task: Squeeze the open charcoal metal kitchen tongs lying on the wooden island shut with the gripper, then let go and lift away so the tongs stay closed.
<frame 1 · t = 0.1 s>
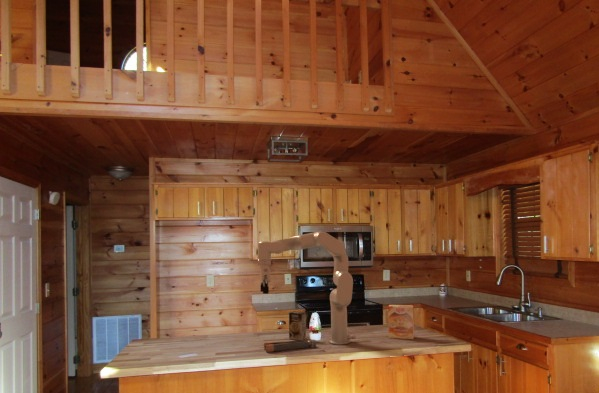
hand: (264, 292, 260), 31 cm above the worktop, tool pointing down, fingers open, 9 cm apart
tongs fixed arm: (309, 347, 257), on the worktop
coffee box: (297, 339, 278), on the worktop
coffeecake box: (401, 337, 279), on the worktop
tongs moving arm: (289, 346, 252), point 2 cm above the worktop, hinge at 9.0°
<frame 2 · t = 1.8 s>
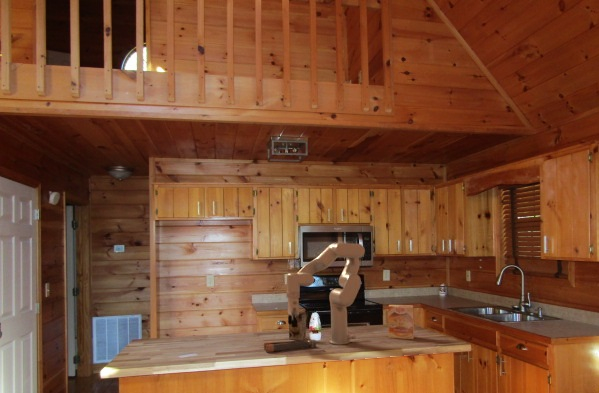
hand: (292, 325, 257), 13 cm above the worktop, tool pointing down, fingers open, 9 cm apart
nothing on the worktop moved.
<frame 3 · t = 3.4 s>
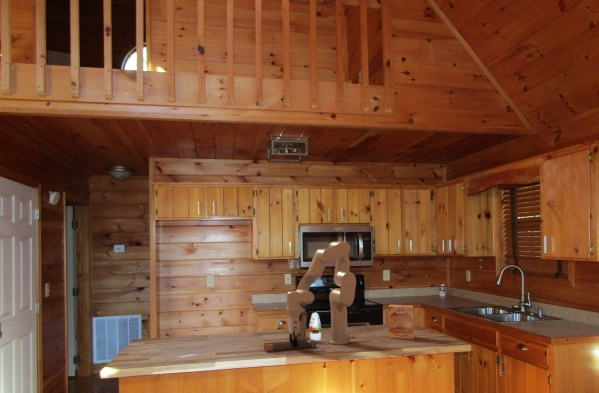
hand: (293, 345, 256), 2 cm above the worktop, tool pointing down, fingers open, 6 cm apart
tongs moving arm: (288, 345, 253), point 2 cm above the worktop, hinge at 5.7°, touching gripper
everything else where it was.
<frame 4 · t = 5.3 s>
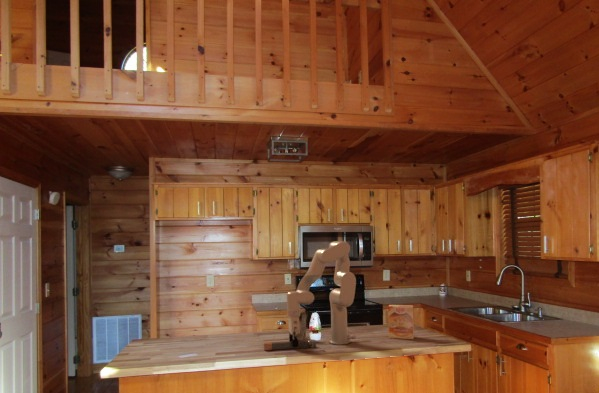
hand: (293, 344, 256), 2 cm above the worktop, tool pointing down, fingers open, 7 cm apart
tongs moving arm: (288, 345, 254), point 2 cm above the worktop, hinge at -0.4°
everything else where it was.
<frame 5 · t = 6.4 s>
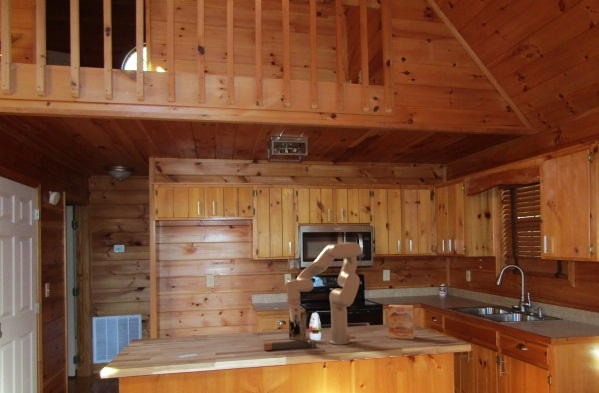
hand: (295, 331, 257), 9 cm above the worktop, tool pointing down, fingers open, 9 cm apart
nothing on the worktop moved.
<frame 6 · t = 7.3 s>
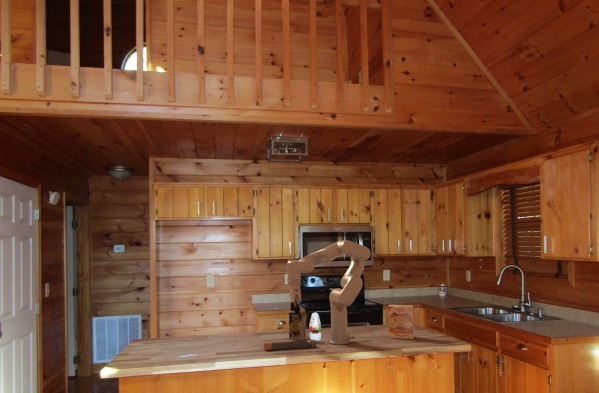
hand: (295, 312, 259), 20 cm above the worktop, tool pointing down, fingers open, 9 cm apart
nothing on the worktop moved.
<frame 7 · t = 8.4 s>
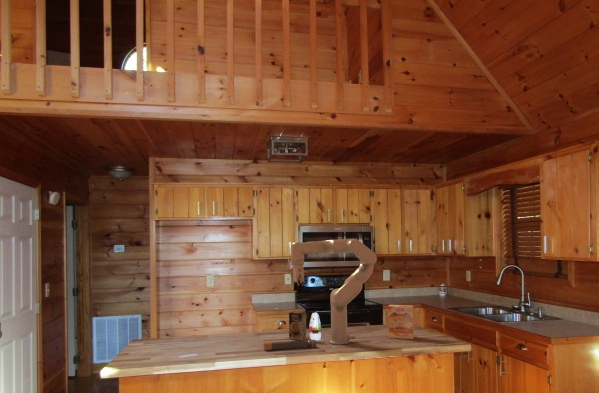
hand: (298, 291, 269), 30 cm above the worktop, tool pointing down, fingers open, 9 cm apart
nothing on the worktop moved.
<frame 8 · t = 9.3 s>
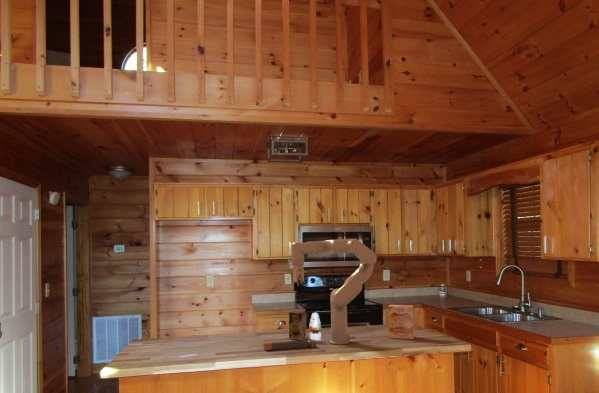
hand: (298, 291, 269), 30 cm above the worktop, tool pointing down, fingers open, 9 cm apart
nothing on the worktop moved.
at the end: tongs moving arm at +0° (first picture: +9°); the gripper is holding nothing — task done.
